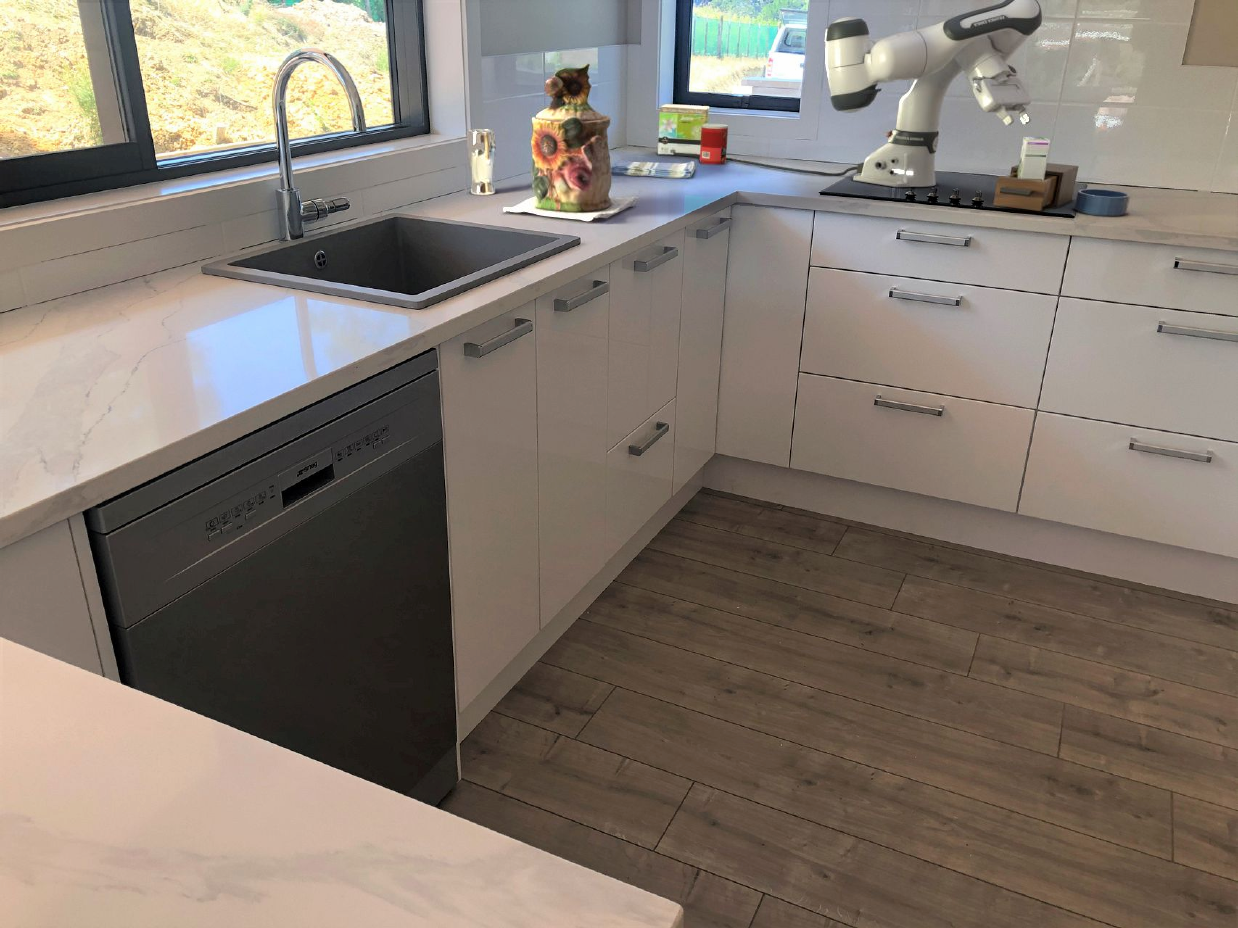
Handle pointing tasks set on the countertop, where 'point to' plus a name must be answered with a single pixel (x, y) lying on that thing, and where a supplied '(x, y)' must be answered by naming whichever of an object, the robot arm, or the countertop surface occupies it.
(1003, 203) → the drawer
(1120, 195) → the bowl
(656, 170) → the dish towel
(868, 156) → the robot arm
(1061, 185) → the cabinet
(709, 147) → the canned food
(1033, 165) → the syrup box
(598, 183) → the cookie jar
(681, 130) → the tea box
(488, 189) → the beer glass
